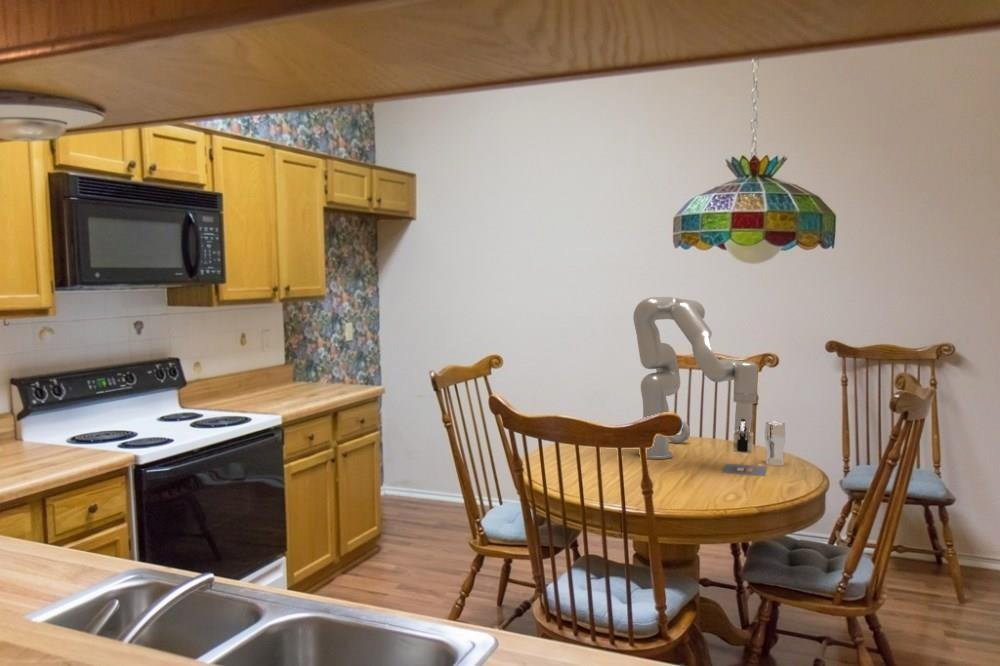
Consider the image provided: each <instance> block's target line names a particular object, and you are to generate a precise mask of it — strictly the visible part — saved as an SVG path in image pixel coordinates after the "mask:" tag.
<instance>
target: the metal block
mask: <svg viewBox="0 0 1000 666" xmlns="http://www.w3.org/2000/svg"><path fill="white" fill-rule="evenodd" d="M738 436H739V430H737V431H735V430H734V433H733V447H732V449H733V452H734V453H744V454H752V453H753V450H754V432H750V431H749V432H747V440H748V446H747V452H743V451H738V450H737V448H738Z"/></svg>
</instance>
